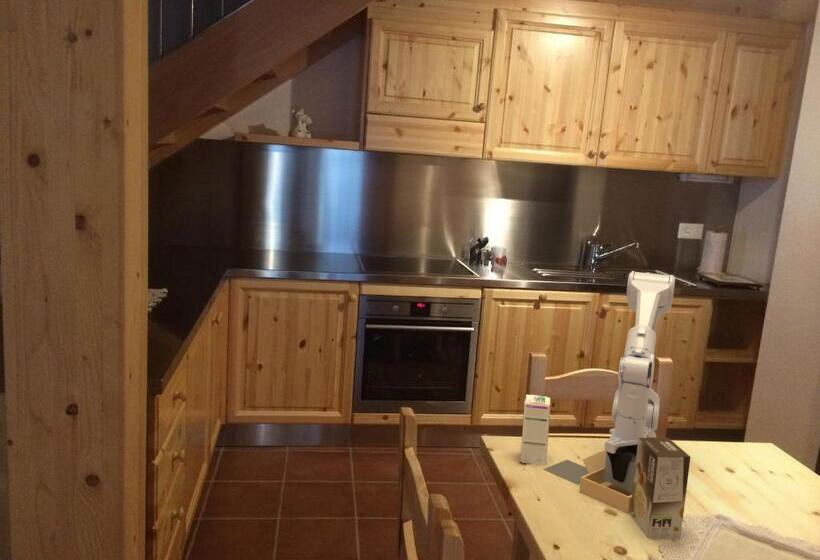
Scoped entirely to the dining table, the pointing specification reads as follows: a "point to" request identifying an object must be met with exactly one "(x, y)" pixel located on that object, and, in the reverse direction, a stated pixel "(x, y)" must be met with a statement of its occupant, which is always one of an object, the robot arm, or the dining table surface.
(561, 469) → the mat
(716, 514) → the dining table surface
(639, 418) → the robot arm
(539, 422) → the syrup box
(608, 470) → the block
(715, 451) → the dining table surface
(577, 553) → the dining table surface
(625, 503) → the carton
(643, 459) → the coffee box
